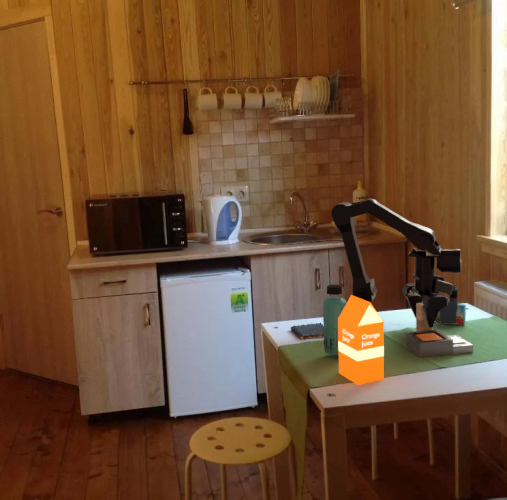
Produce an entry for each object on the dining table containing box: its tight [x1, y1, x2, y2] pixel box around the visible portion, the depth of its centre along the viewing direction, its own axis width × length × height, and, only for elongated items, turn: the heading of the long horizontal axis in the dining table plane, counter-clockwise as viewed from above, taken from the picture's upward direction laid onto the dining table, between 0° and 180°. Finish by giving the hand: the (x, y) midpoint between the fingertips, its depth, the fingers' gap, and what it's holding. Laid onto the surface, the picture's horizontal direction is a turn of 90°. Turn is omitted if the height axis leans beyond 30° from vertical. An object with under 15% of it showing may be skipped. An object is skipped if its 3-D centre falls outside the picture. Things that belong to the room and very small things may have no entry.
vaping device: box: [439, 284, 459, 325], centre depth 195 cm, size 3×5×12 cm, turn 79°
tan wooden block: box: [415, 302, 433, 332], centre depth 187 cm, size 4×4×9 cm
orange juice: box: [338, 294, 385, 386], centre depth 155 cm, size 8×9×20 cm
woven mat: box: [290, 322, 324, 341], centre depth 192 cm, size 10×11×2 cm
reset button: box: [415, 333, 442, 341], centre depth 173 cm, size 6×6×2 cm
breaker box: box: [405, 329, 474, 358], centre depth 174 cm, size 15×9×4 cm, turn 100°
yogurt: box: [435, 303, 467, 326], centre depth 198 cm, size 12×2×6 cm, turn 54°
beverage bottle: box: [322, 283, 347, 356], centre depth 170 cm, size 6×7×20 cm
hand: (424, 322), depth 187 cm, fingers open, 9 cm apart
